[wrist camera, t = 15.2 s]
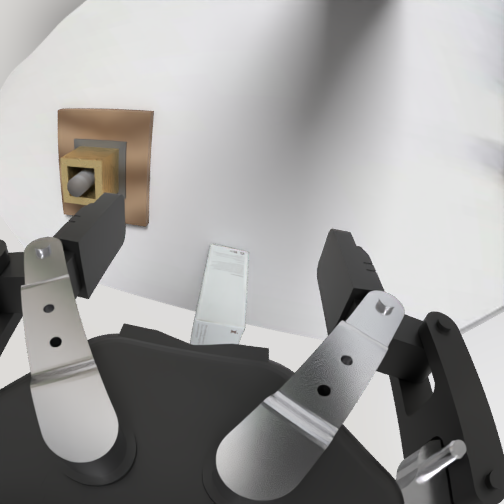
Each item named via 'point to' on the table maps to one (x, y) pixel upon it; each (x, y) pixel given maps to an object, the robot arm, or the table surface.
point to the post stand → (110, 136)
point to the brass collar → (104, 169)
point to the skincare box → (222, 298)
